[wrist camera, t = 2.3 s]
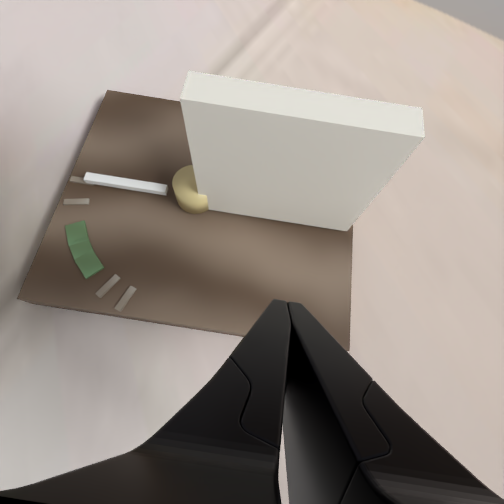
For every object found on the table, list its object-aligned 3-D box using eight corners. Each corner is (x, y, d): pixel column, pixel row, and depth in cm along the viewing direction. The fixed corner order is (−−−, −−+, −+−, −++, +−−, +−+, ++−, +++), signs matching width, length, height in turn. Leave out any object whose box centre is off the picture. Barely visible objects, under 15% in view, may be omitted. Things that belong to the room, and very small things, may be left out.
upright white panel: (346, 238, 21) (425, 147, 12) (81, 196, 20) (-23, 75, 12) (347, 204, 22) (421, 99, 13) (94, 164, 21) (5, 32, 13)
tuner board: (341, 351, 20) (350, 350, 18) (32, 303, 20) (15, 297, 18) (348, 142, 26) (356, 128, 24) (114, 105, 26) (106, 88, 24)
